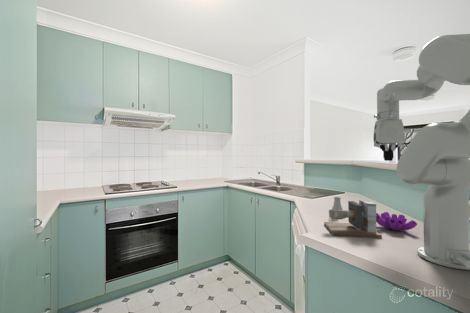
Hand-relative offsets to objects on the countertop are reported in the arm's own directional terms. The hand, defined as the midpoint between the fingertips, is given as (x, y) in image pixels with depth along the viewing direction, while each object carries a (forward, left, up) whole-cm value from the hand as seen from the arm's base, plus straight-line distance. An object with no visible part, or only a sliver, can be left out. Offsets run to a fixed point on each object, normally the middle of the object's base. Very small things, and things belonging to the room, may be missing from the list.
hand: (388, 160), depth 89 cm
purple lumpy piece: (+2, -2, -29) cm, 30 cm away
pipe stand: (-4, +17, -29) cm, 34 cm away
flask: (+18, +15, -29) cm, 38 cm away
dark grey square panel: (-4, +15, -27) cm, 31 cm away
